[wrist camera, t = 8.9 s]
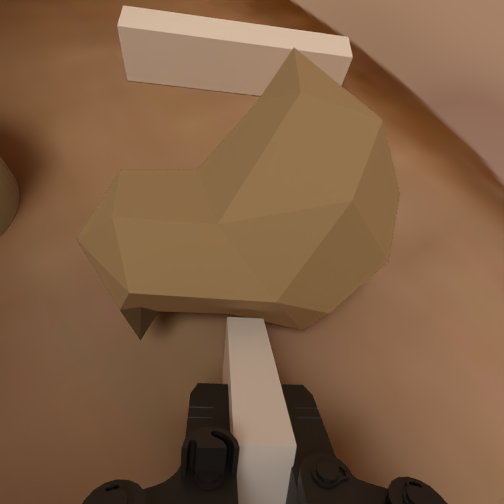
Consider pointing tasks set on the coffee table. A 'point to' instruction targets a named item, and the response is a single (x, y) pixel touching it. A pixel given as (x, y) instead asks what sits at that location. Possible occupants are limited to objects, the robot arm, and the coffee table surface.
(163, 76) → the rail
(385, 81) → the coffee table surface
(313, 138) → the low-poly potato
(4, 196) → the pale green egg
